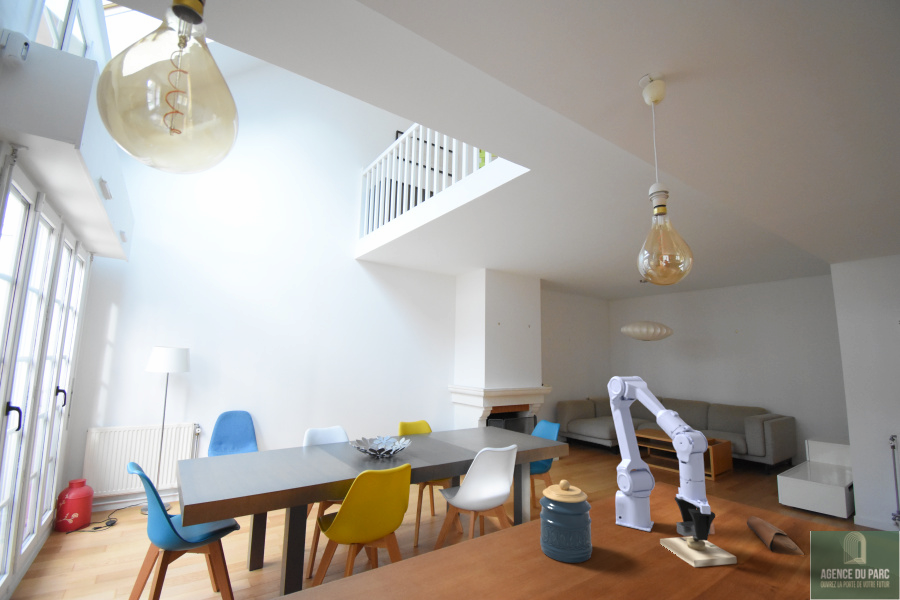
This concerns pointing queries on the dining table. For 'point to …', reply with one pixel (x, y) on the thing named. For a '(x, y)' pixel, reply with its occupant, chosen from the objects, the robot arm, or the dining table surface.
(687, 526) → the dark rectangular block
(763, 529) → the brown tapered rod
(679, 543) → the base plate
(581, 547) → the canister
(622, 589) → the dining table surface
